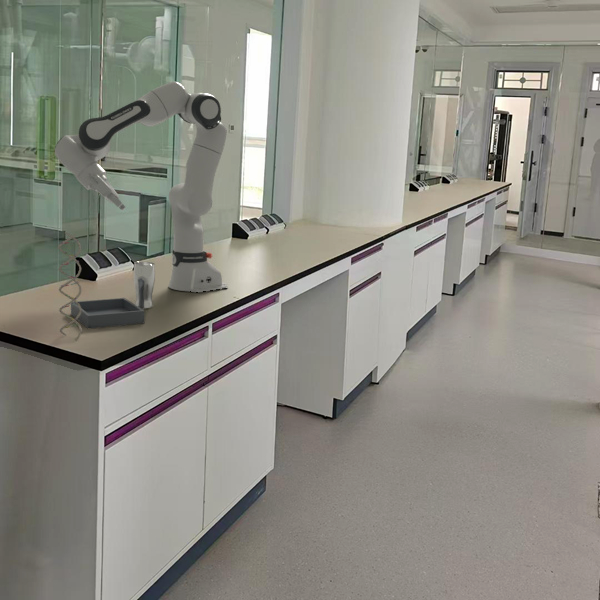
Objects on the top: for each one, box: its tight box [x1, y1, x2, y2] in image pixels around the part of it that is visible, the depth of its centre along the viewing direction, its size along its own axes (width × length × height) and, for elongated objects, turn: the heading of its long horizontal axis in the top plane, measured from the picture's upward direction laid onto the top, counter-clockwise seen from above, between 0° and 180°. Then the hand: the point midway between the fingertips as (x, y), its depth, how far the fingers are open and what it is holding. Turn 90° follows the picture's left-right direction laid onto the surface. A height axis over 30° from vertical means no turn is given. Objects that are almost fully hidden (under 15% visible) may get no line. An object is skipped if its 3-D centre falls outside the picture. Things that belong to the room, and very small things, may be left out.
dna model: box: [58, 231, 83, 341], centre depth 204 cm, size 7×6×30 cm
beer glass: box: [133, 260, 156, 310], centre depth 244 cm, size 7×7×15 cm
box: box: [70, 297, 145, 329], centre depth 228 cm, size 18×18×4 cm
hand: (122, 207), depth 248 cm, fingers open, 8 cm apart
